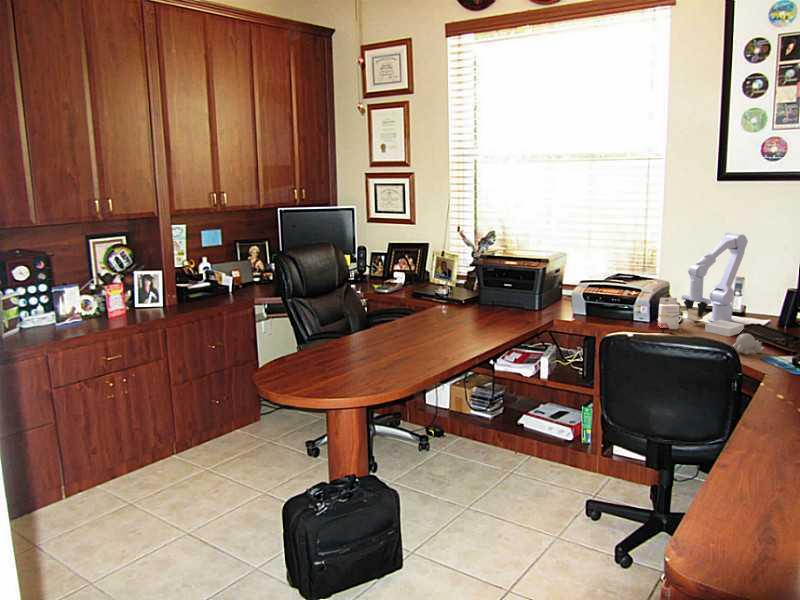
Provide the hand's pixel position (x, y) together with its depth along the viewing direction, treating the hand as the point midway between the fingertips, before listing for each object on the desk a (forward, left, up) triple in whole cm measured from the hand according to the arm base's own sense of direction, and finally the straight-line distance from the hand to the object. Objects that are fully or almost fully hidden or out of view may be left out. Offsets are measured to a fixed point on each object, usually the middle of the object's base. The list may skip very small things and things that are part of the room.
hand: (695, 315), depth 328 cm
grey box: (+1, +16, -5) cm, 17 cm away
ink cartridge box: (+14, -5, -5) cm, 16 cm away
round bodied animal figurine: (+25, +41, -5) cm, 48 cm away
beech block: (0, 0, -2) cm, 2 cm away
